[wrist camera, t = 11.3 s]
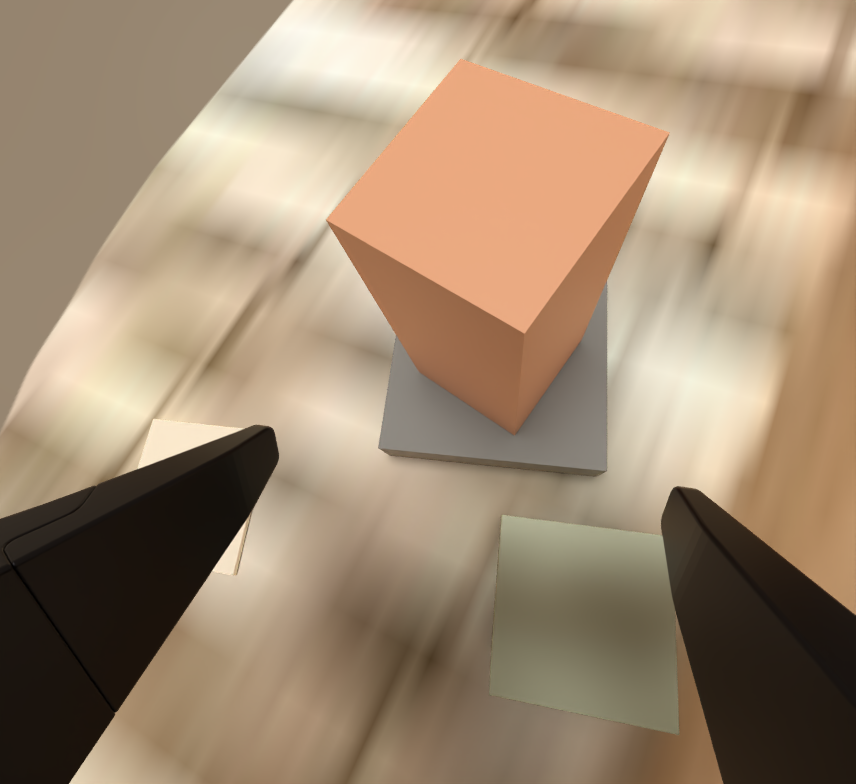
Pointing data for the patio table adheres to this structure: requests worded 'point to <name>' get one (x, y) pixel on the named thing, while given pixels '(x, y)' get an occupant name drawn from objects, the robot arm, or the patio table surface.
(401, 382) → the slate base block
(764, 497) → the patio table surface
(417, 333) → the terracotta block
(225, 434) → the card
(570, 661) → the sage cube
